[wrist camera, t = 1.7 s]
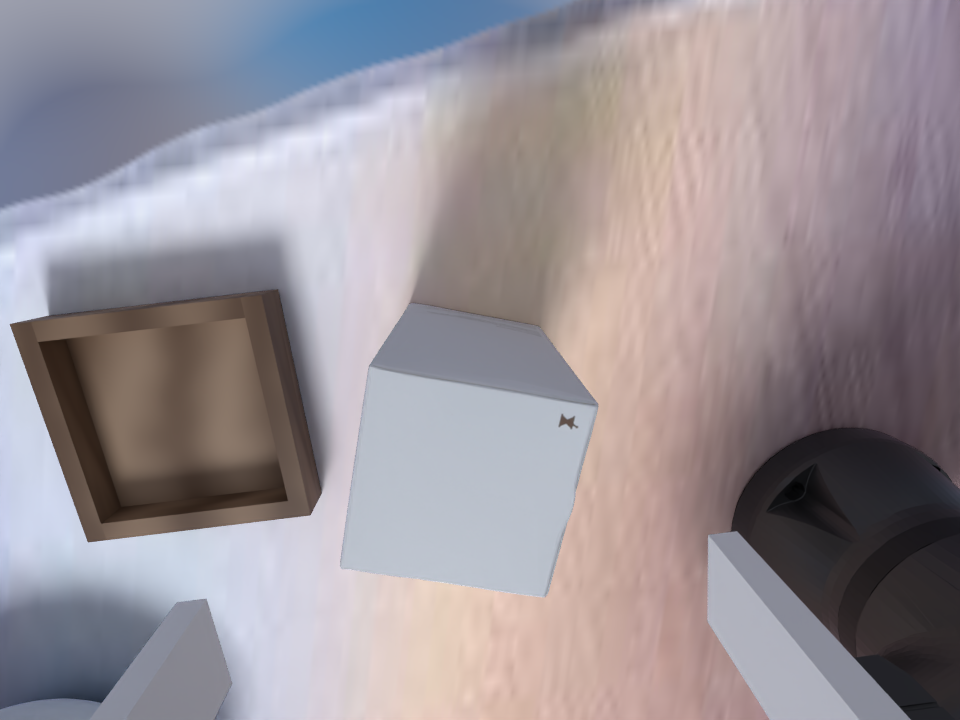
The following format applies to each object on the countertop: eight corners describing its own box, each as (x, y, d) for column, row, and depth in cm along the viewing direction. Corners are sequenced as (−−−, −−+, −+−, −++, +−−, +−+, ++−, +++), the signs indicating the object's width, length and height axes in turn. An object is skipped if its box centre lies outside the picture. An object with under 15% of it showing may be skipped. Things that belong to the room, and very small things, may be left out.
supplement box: (406, 298, 32) (365, 355, 18) (542, 324, 33) (608, 400, 18) (385, 428, 34) (331, 574, 20) (512, 450, 35) (551, 605, 21)
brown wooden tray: (278, 289, 32) (261, 295, 29) (321, 493, 35) (310, 515, 33) (48, 315, 31) (9, 324, 29) (116, 518, 35) (88, 542, 32)
